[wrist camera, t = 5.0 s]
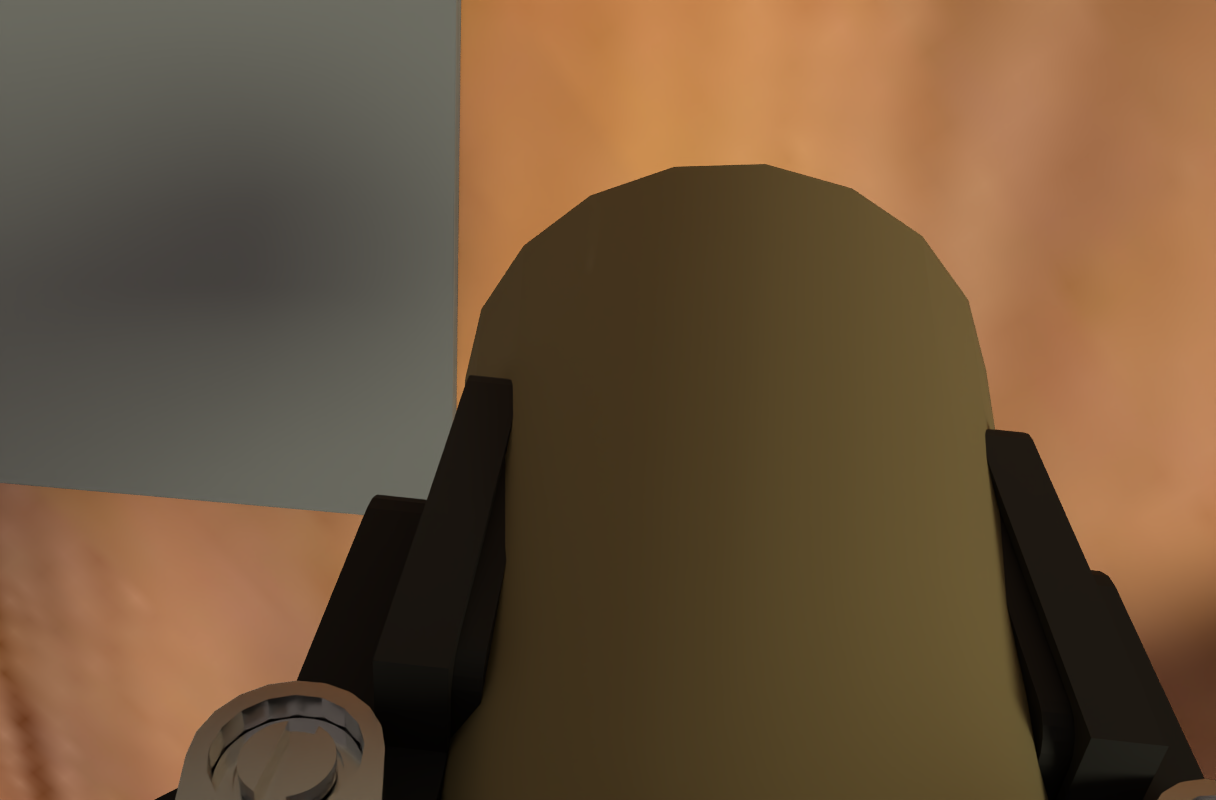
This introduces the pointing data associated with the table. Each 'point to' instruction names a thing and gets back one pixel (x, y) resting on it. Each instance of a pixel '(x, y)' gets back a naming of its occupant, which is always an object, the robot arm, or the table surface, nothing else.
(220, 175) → the slate mat
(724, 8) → the table surface
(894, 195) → the table surface
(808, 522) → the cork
